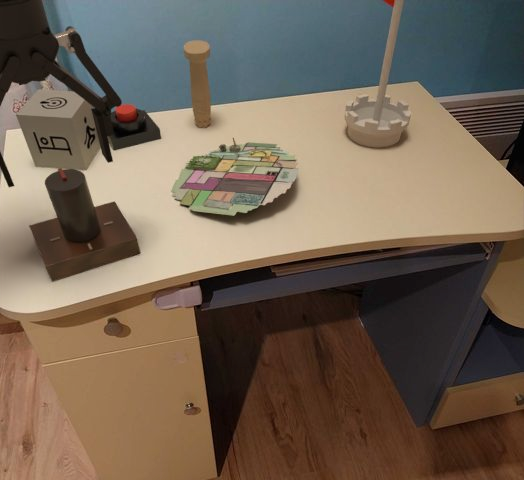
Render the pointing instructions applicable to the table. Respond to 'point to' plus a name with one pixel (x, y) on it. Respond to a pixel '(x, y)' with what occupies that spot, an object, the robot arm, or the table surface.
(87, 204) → the knob
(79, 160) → the icon cube
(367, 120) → the flag stand
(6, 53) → the robot arm
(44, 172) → the table surface
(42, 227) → the panel
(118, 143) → the button box
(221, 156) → the city model
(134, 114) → the button
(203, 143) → the table surface
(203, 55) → the handle
